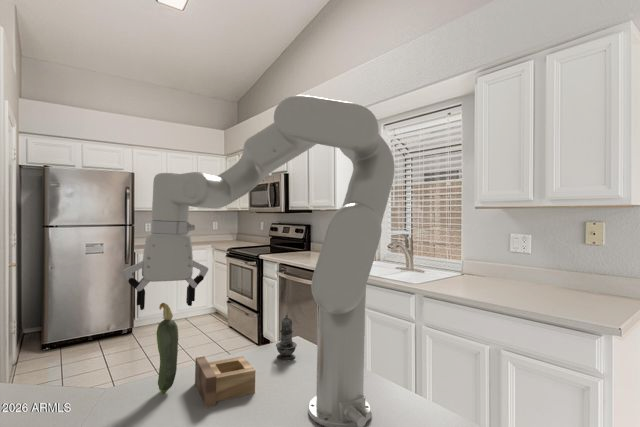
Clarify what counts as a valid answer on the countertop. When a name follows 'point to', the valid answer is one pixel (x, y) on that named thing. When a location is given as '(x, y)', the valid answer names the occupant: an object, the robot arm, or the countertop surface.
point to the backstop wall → (205, 381)
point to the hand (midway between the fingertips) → (166, 306)
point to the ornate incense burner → (286, 341)
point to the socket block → (233, 378)
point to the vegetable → (167, 349)
